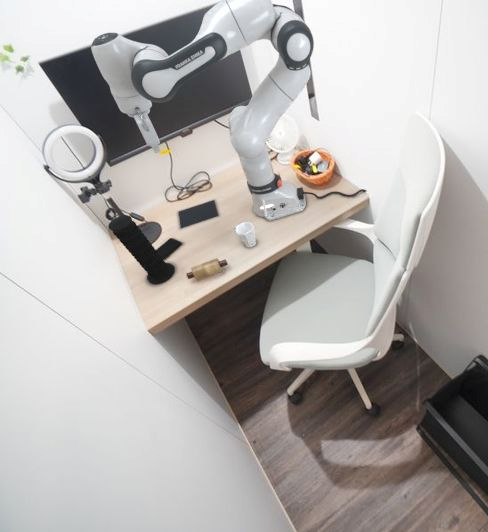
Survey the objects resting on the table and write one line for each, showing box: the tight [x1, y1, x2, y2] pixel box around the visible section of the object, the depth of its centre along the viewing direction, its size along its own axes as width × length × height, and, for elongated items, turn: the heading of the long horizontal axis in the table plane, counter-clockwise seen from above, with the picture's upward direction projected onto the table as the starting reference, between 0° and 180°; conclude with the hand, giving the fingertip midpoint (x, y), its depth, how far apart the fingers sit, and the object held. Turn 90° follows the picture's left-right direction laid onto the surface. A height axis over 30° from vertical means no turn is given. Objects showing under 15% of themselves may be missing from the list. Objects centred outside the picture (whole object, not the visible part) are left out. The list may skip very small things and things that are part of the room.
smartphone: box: [156, 237, 182, 261], centre depth 124 cm, size 7×1×15 cm
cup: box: [232, 221, 257, 248], centre depth 121 cm, size 7×10×8 cm
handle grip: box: [107, 214, 176, 285], centre depth 108 cm, size 10×26×10 cm
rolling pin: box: [185, 258, 229, 281], centre depth 113 cm, size 5×14×5 cm, turn 113°
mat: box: [178, 199, 219, 229], centre depth 139 cm, size 16×12×1 cm
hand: (153, 144), depth 104 cm, fingers open, 8 cm apart
